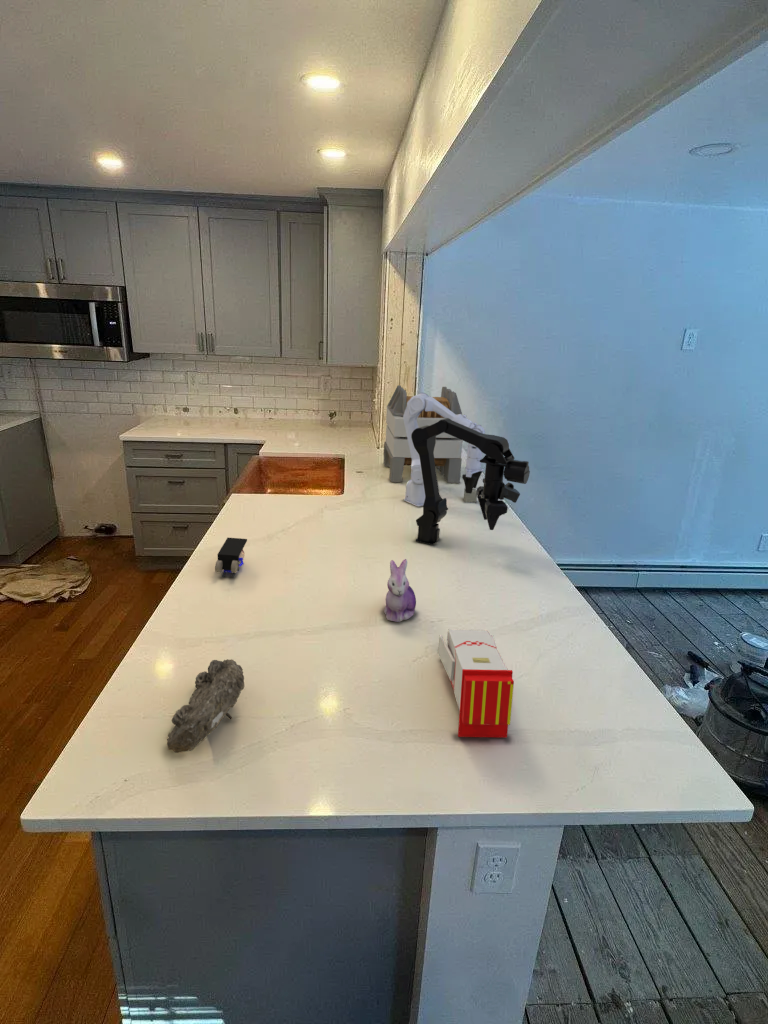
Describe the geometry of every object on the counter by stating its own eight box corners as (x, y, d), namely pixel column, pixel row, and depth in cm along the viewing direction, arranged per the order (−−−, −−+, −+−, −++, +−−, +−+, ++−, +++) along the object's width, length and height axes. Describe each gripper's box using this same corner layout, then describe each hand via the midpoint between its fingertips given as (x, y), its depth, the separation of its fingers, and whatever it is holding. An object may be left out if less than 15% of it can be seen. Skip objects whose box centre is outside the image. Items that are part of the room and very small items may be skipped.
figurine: (392, 627, 141) (395, 572, 136) (374, 608, 149) (376, 556, 144) (425, 619, 145) (429, 566, 140) (405, 601, 154) (408, 550, 149)
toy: (488, 613, 130) (523, 677, 101) (484, 667, 133) (517, 744, 104) (435, 612, 130) (455, 676, 101) (432, 666, 133) (451, 743, 103)
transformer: (382, 463, 289) (386, 382, 275) (445, 464, 293) (451, 384, 279) (390, 482, 257) (394, 392, 243) (460, 483, 261) (468, 394, 247)
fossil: (192, 660, 117) (244, 628, 112) (224, 691, 120) (276, 661, 115) (142, 746, 98) (202, 712, 93) (182, 779, 101) (242, 748, 96)
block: (465, 502, 236) (466, 491, 235) (463, 499, 240) (464, 488, 239) (476, 502, 236) (477, 491, 235) (474, 499, 240) (475, 488, 239)
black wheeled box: (238, 584, 162) (249, 557, 175) (236, 562, 158) (247, 536, 172) (215, 584, 161) (227, 556, 175) (212, 561, 158) (225, 535, 171)
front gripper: (527, 487, 168) (520, 536, 173) (512, 470, 186) (506, 515, 191) (490, 486, 168) (484, 535, 173) (478, 469, 185) (473, 514, 191)
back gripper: (480, 462, 212) (476, 496, 217) (488, 454, 225) (484, 487, 229) (462, 460, 214) (458, 494, 219) (470, 452, 227) (467, 484, 232)
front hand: (488, 524), depth 182 cm, fingers open, 9 cm apart
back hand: (470, 490), depth 224 cm, fingers open, 7 cm apart
